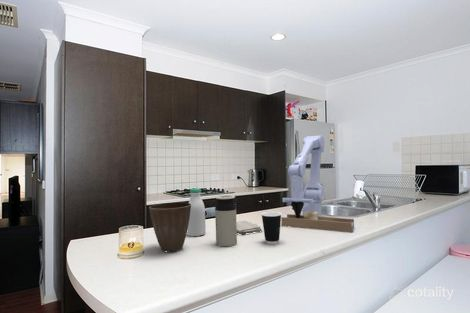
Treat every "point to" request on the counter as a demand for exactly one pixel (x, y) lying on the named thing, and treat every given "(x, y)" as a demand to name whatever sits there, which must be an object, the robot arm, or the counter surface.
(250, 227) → the washcloth
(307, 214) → the maple block
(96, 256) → the counter surface
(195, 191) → the milk bottle
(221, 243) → the travel mug
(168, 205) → the plant pot
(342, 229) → the trap track
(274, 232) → the dixie cup
